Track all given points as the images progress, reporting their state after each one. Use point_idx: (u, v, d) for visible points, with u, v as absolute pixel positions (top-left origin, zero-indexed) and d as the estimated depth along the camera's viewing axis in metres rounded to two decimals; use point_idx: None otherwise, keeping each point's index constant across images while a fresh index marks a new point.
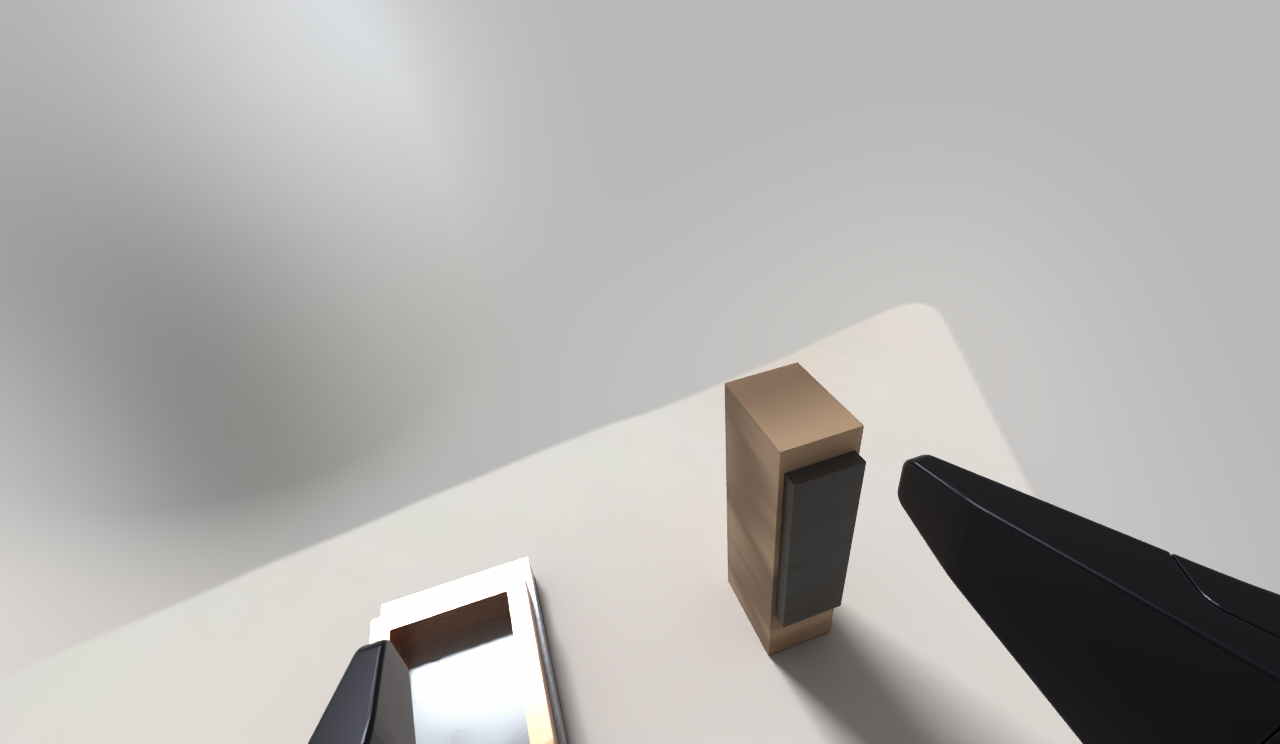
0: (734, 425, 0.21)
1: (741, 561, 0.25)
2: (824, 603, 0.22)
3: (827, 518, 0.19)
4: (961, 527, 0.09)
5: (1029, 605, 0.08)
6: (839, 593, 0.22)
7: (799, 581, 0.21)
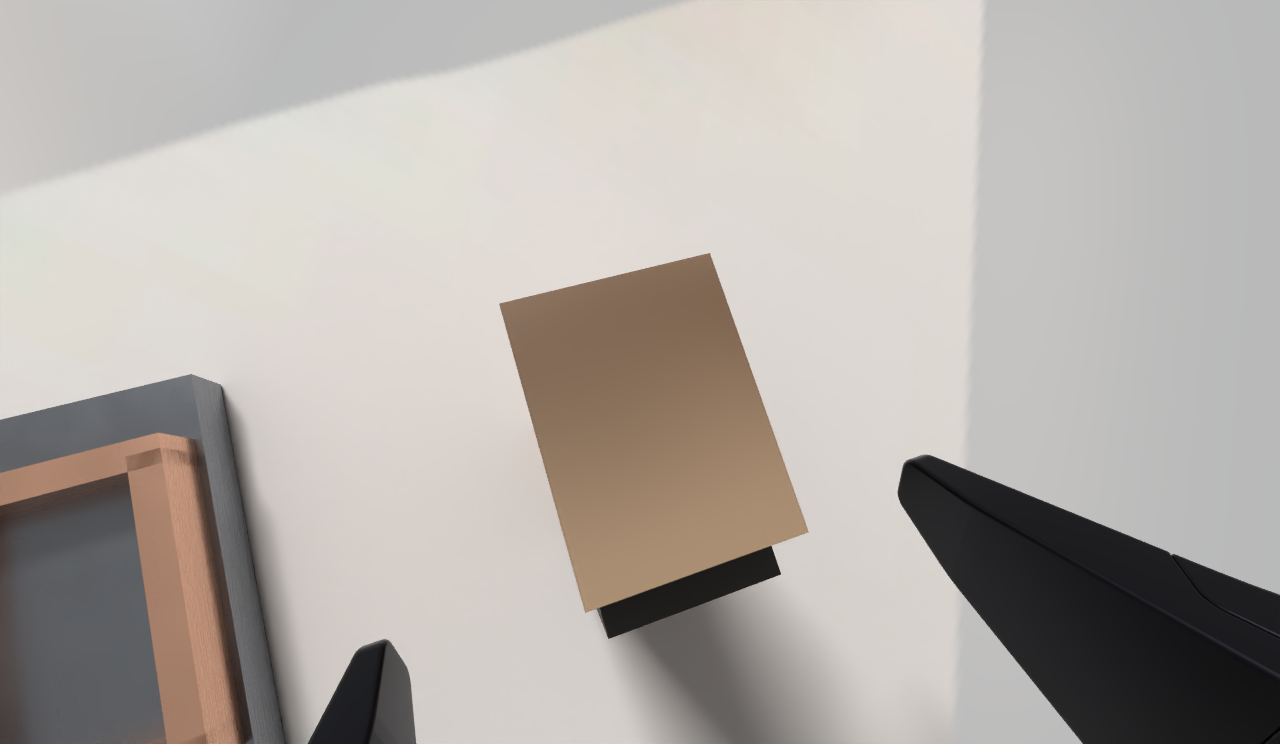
0: None
1: None
2: None
3: None
4: (961, 527, 0.09)
5: (1029, 605, 0.08)
6: None
7: None
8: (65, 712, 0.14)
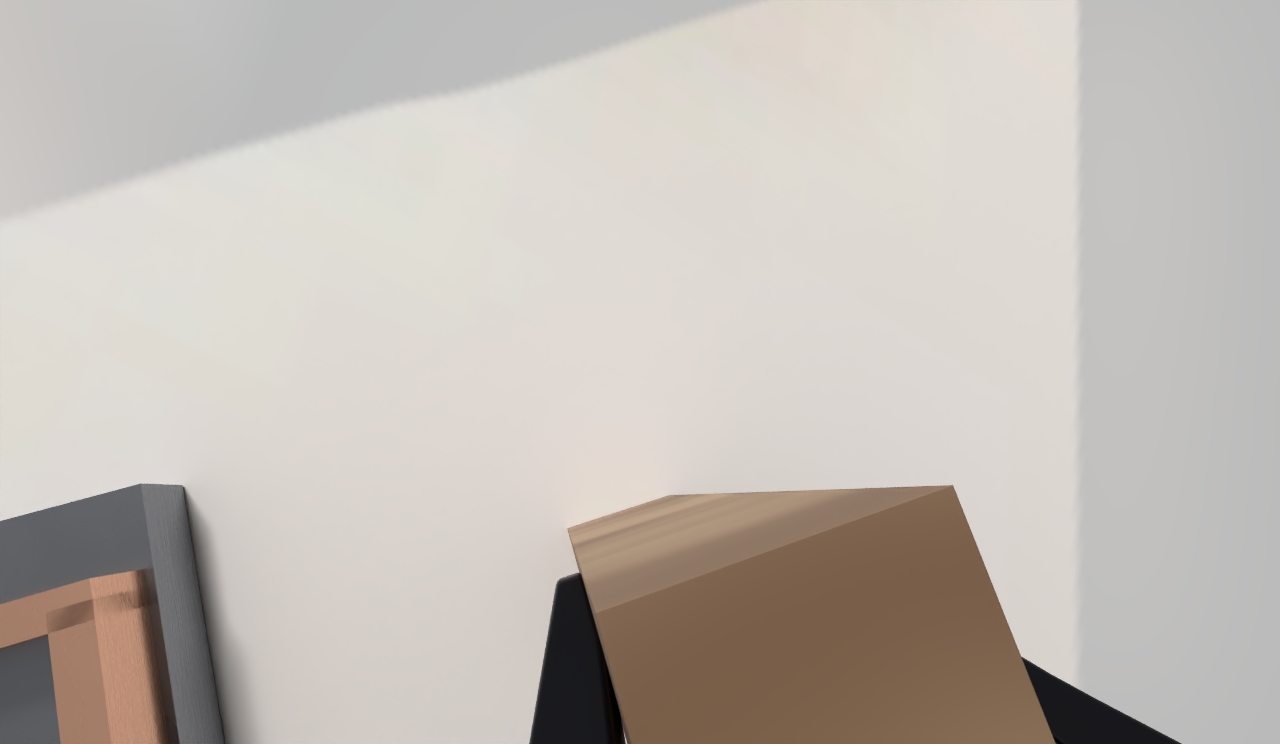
0: (609, 669, 0.05)
1: None
2: None
3: None
4: None
5: None
6: None
7: None
8: None
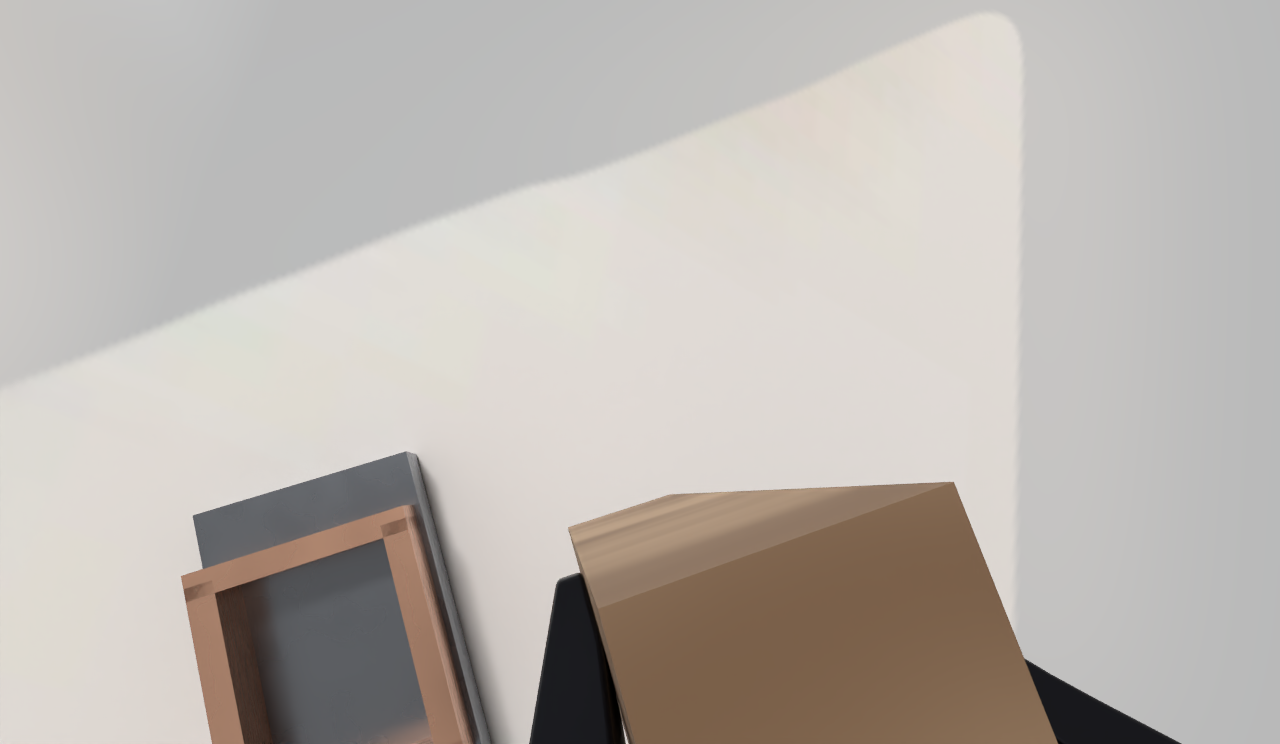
0: (611, 665, 0.05)
1: None
2: None
3: None
4: None
5: None
6: None
7: None
8: (339, 724, 0.18)
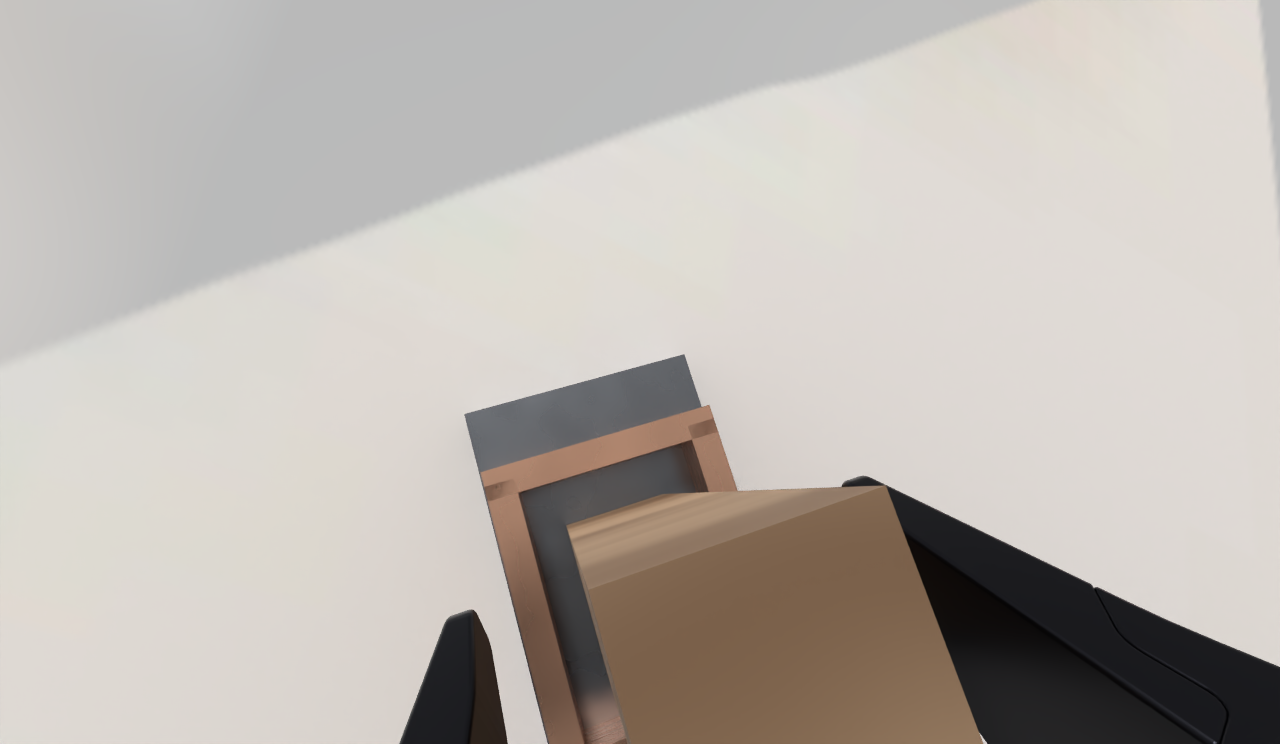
0: (601, 641, 0.06)
1: (585, 592, 0.13)
2: None
3: None
4: None
5: (957, 635, 0.08)
6: None
7: None
8: None
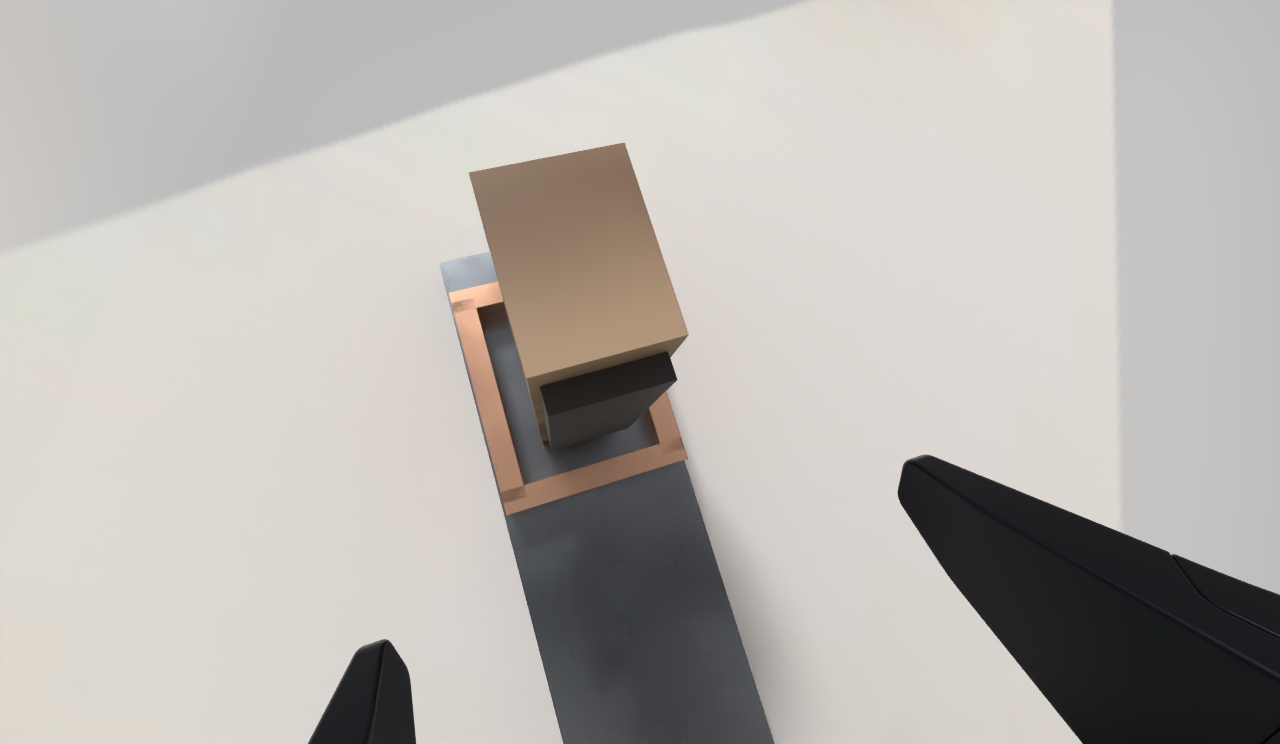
0: None
1: None
2: (606, 432, 0.18)
3: (609, 412, 0.13)
4: (961, 527, 0.09)
5: (1029, 605, 0.08)
6: (626, 426, 0.18)
7: (570, 437, 0.16)
8: None
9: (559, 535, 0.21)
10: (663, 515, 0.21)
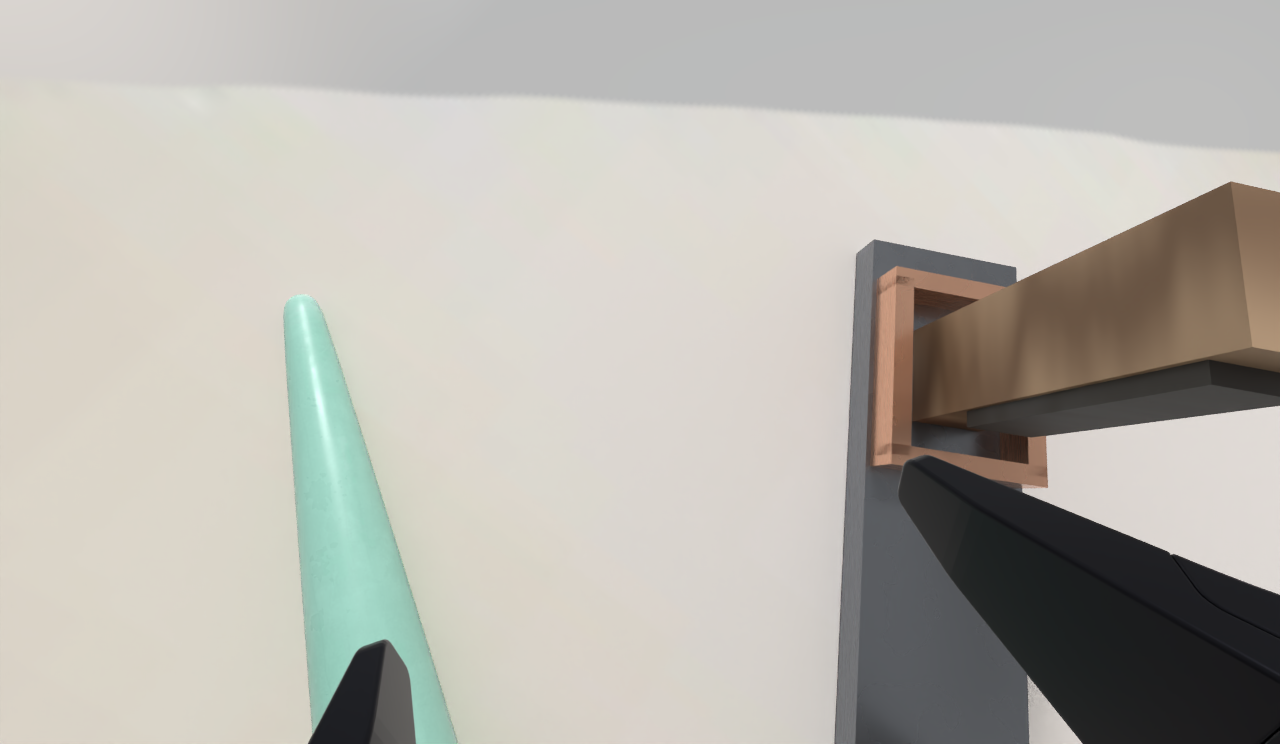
0: (1169, 239, 0.14)
1: (966, 341, 0.21)
2: (1024, 432, 0.20)
3: (1166, 408, 0.15)
4: (961, 527, 0.09)
5: (1029, 605, 0.08)
6: (1048, 434, 0.20)
7: (1043, 419, 0.18)
8: None
9: None
10: None
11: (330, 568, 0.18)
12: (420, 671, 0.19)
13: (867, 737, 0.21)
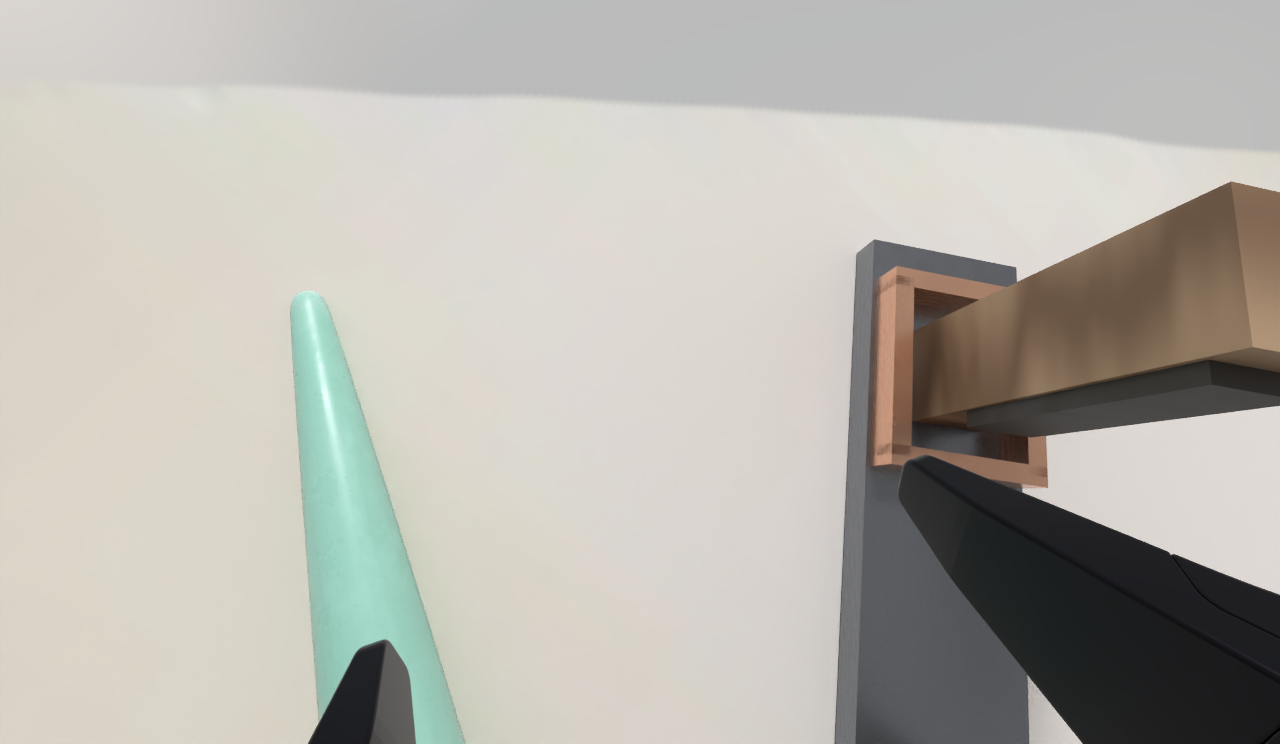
0: (1169, 239, 0.14)
1: (966, 341, 0.21)
2: (1024, 432, 0.20)
3: (1166, 408, 0.15)
4: (961, 527, 0.09)
5: (1029, 605, 0.08)
6: (1048, 434, 0.20)
7: (1043, 419, 0.18)
8: None
9: None
10: None
11: (337, 563, 0.18)
12: (426, 666, 0.19)
13: (867, 737, 0.21)
